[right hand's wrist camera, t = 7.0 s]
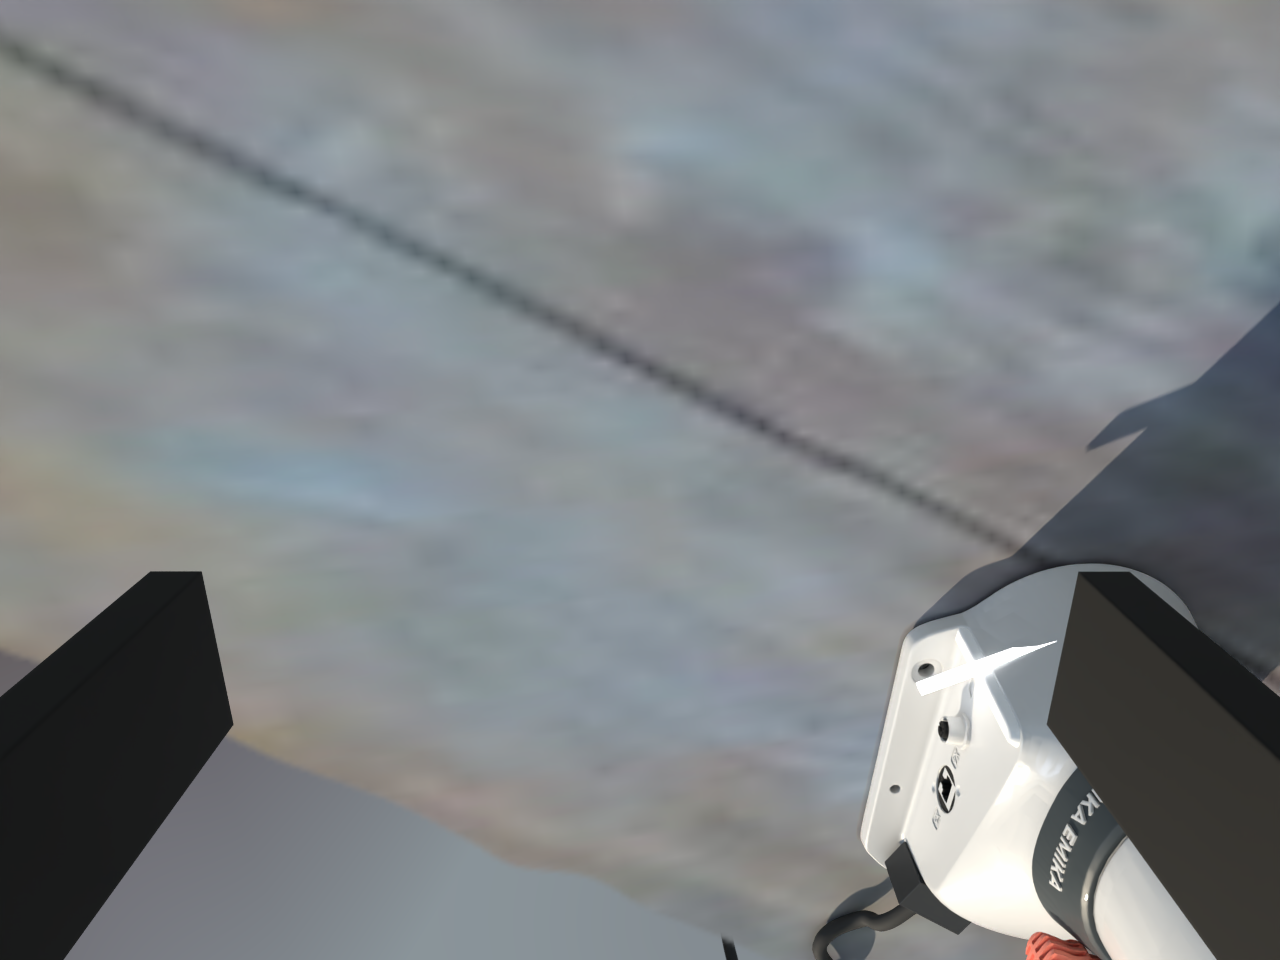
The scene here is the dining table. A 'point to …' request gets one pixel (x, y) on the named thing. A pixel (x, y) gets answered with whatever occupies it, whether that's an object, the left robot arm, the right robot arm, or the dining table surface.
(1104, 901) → the left robot arm
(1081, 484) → the dining table surface
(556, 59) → the dining table surface
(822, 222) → the dining table surface
